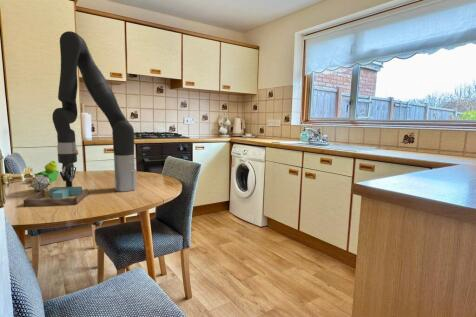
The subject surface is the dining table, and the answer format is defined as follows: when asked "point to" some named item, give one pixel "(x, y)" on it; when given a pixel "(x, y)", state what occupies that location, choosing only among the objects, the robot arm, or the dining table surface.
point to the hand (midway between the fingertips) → (69, 189)
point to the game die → (40, 182)
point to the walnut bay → (53, 200)
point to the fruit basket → (50, 171)
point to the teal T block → (64, 191)
